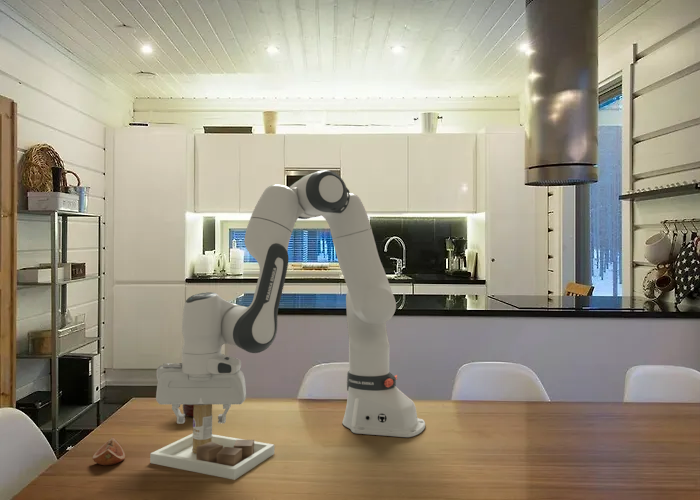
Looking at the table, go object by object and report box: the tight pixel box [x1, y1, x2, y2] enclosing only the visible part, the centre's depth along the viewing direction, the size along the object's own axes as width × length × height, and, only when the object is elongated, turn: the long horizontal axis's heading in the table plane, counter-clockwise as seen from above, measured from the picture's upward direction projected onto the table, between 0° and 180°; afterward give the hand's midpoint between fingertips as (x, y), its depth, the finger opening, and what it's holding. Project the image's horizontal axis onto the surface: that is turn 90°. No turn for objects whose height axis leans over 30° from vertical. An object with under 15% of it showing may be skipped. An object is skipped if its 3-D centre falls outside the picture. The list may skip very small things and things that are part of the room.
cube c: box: [234, 439, 255, 461], centre depth 128 cm, size 4×4×4 cm
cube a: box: [217, 447, 242, 466], centre depth 123 cm, size 4×4×4 cm
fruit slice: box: [91, 436, 126, 466], centre depth 127 cm, size 8×7×5 cm
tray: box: [149, 433, 275, 481], centre depth 130 cm, size 22×16×3 cm
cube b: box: [196, 442, 223, 463], centre depth 126 cm, size 4×4×4 cm
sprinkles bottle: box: [192, 398, 213, 453], centre depth 134 cm, size 5×5×14 cm
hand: (201, 422), depth 133 cm, fingers open, 8 cm apart
